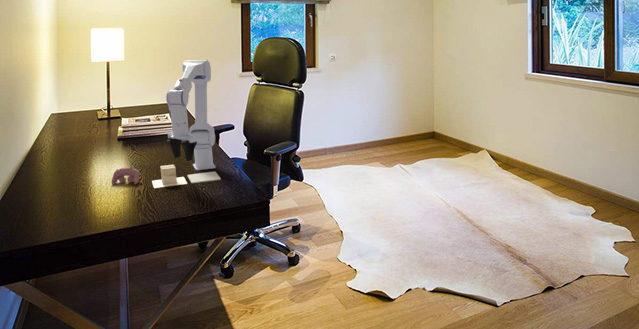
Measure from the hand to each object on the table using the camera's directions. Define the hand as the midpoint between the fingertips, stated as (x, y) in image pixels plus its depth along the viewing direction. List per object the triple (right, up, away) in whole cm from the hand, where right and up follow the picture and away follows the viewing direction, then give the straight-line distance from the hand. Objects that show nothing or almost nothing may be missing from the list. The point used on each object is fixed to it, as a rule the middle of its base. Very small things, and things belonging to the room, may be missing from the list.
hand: (183, 159), depth 186 cm
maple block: (-6, -9, +4) cm, 12 cm away
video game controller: (-23, -9, +5) cm, 25 cm away
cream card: (-6, -9, +4) cm, 12 cm away
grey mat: (+6, -7, +9) cm, 13 cm away
